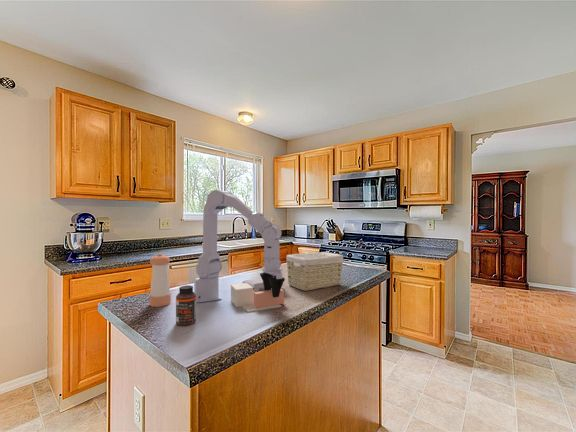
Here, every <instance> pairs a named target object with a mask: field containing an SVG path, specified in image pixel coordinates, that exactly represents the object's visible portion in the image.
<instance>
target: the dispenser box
mask: <svg viewBox="0 0 576 432" xmlns="http://www.w3.org/2000/svg"><path fill="white" fill-rule="evenodd" d="M230 302H231V303H232V304H233V305H234V306H235V307H236V308H238V307H239V308H240V307H242V306H246V305H253V304H254V287H253V286H252V285H250V284H249V283H242V282H241V283H234V284H230Z"/></svg>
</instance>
